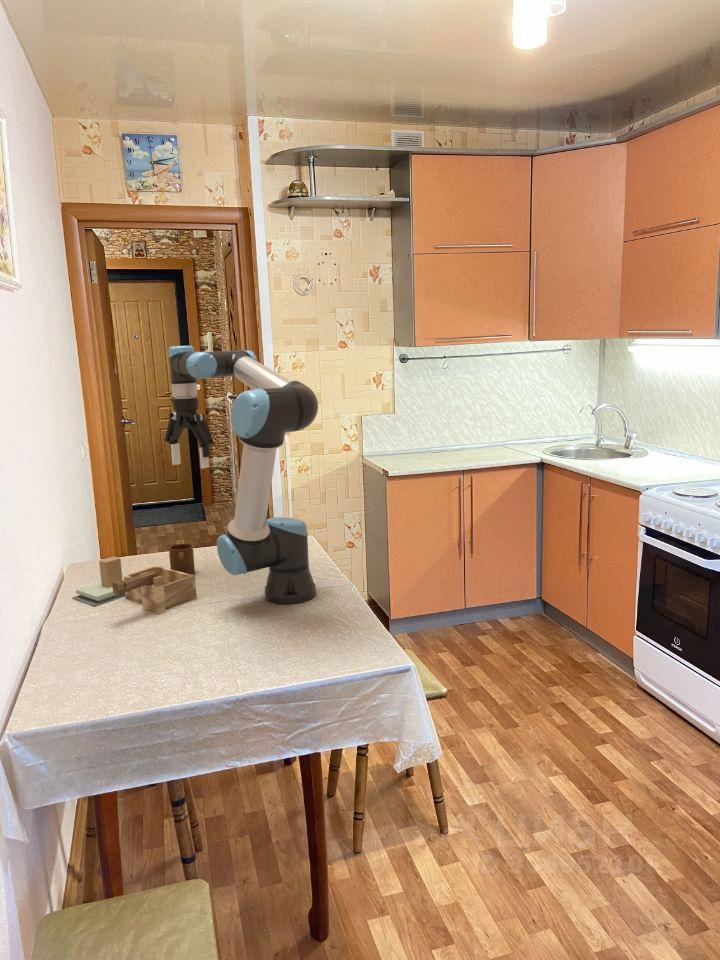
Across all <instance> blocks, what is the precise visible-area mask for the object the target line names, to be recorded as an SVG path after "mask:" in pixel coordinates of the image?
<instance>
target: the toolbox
mask: <svg viewBox="0 0 720 960" xmlns="http://www.w3.org/2000/svg"><path fill="white" fill-rule="evenodd" d="M148 572H155V573H156V574H157V577H155V578H153V583H151V584H148V585H145V586H142V587H139V588H136V589H133V590H130V591H127V592H125V596H124V598H125V600H129V601H132V602H134V603H138V604H141V605H142V610H144V611H147V612H150V613H152V614H156V615H161V614H164V613H166V611H167V610H170V609H172V608H175V607H177V606H180V605H184V604H185V603H188V602H190V601H193V600H196V599H198V598H197V584H196V575H194V574H193V575H191V574H187V573H183V572H179V571H175V570H172V569H171V568H168V567H164V566H160V565H155V566H151V567H148V568H144V569H142V570H139V571H135V572H132V573H130V574H129V573H128V574H129V575H126V576H123V578H124V580H126V579H129V578H133V577H136V576H139V575H142V574H145V573H148Z"/></svg>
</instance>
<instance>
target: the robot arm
mask: <svg viewBox="0 0 720 960" xmlns="http://www.w3.org/2000/svg"><path fill="white" fill-rule="evenodd" d="M168 362H169V371H170V382H171V384H170V385H171V396H172V397H173V399H172V409H173V411H174V412H169V416H168V418H169V419H168V424H167V427H166V428H167V429H166V433H165V438H164V441H165V442H166V443H168V444H169V447H170V454H171V463H172V466H176V465H181V464H182V461H181V459H182V458H181V450H180V448H181V446H180V442H179V440H180V438H181V435H182V433H183V431H184V429H189V430H190V431H191V432H192V433H193V435H194V436H195V438H196V440H197V441H198V444H199V447H198V449H199V450H198V451H199V461H200V464H199V465H200V469H201V470H202V469H207V468H210V446H211V445H214V439H213V437H212V434H211V432H210V430H209V427H208V425H207V422H206V416H205V414H204V413H197V410H199V398H198V397H197V396H198V386H197V382H198V381H197V379H198V380H206V379H209V378H210V379H211V378H225V377H233V378H235V379H237V380H239V382H241V383H243V384H245V385H246V386H247V387H249V388H251V390H245V391H242V392H241V393H239V394H238V395H237V397H236V398H235V400H234V401H233V405H232V407H231V412H230V413H231V421H232V424H231V425H232V429H233V431H234V433H235V434H236V435H237V436H238V440H239V442H241V443H242V445H243V446H242V453H241V460H240V461H241V462H240V469H239V477H238V485H237V494H236V502H235V503H236V504H235V509H234V517H233V519H232V520H231V521H230V522H229V523H228V524H227V529H226V534H222V535H220V536H218V538H217V540H216V549H217V555H218V558H219V559H220V563H221V565H222V566H223V568H224V569H225V571H226V572H227V573H229V574H230V575H233V576H239V575H246V574H247V573H251V572H255V571H259V570H263V569H266V568H268V575H267V579H266V585H265V587H264V598H265V600H266V601H267V602H270V603H273V604H281V605H289V604H290V605H291V604H300V603H303V602H308V601H309V600H312V599H313V598H315V597H316V595H317V586H316V583H315V582H314V579H313V576H312V573H311V571H310V565H309V564H310V563H309V562H310V561H309V542H308V538H309V537H308V536H309V534H308V529H307V527H308V526H307V524H306V522H305V521H303V520H301V519H298V518H294V517H285V516H284V517H281V516H280V517H279V516H278V517H270V518H268V519H267V516H268V510H269V503H270V495H271V489H272V483H273V475H274V469H275V468H274V467H275V463H276V462H275V461H276V454H277V450H278V449H279V448H281V447H282V446H283V444H284V440H285V435H286V433H293V432H299V431H302V430H304V429H306V428H307V427H309V426H310V425H311V424H312V423H313V422H314V421H315V419H316V417H317V414H318V411H319V402H318V398H317V396H316V394H315V392H314V391H313V390H312V389H311V387H309V386H307V385H306V384H304V383H303V382H300V381H298V380H290V379H288V378H287V377H285V376H283V375H281V374H280V373H277V372H276V371H275V370H273V369H271V368H269V367H268V366H265V365H264V364H262V363H260V362H259V361H258V358H257V355H256V354H255V353H254V352H253V351H252V350H243V349H238V350H221V351H195V348H194V347H193V346H192V345H177V346H175V345H174V346H172V345H171V346H170V347H169V348H168Z"/></svg>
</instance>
